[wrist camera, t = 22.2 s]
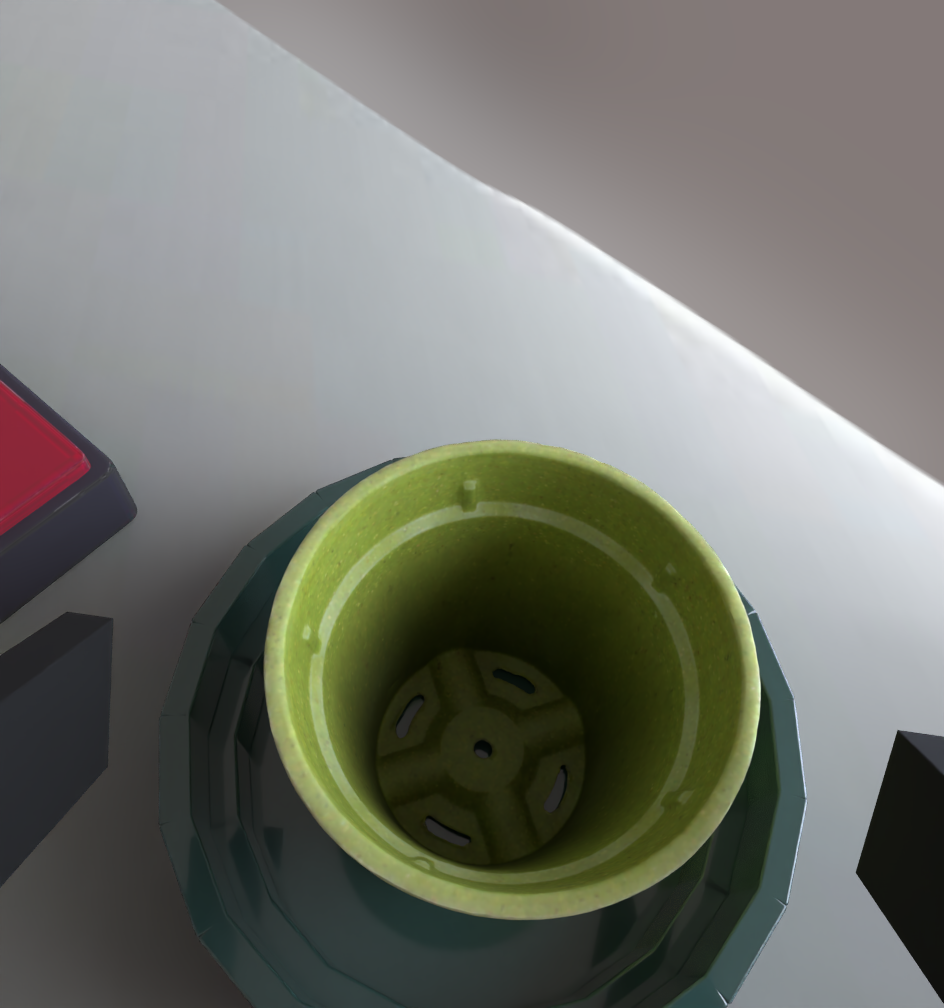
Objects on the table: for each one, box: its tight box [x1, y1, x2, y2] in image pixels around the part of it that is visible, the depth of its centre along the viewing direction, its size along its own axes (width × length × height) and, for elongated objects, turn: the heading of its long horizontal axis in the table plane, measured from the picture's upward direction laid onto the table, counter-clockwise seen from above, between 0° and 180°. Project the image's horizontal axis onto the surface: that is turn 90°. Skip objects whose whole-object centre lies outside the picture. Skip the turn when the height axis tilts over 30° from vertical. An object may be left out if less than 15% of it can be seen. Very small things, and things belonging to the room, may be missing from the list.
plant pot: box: [264, 439, 761, 920], centre depth 18 cm, size 9×9×9 cm
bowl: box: [159, 457, 807, 1008], centre depth 20 cm, size 15×15×4 cm
